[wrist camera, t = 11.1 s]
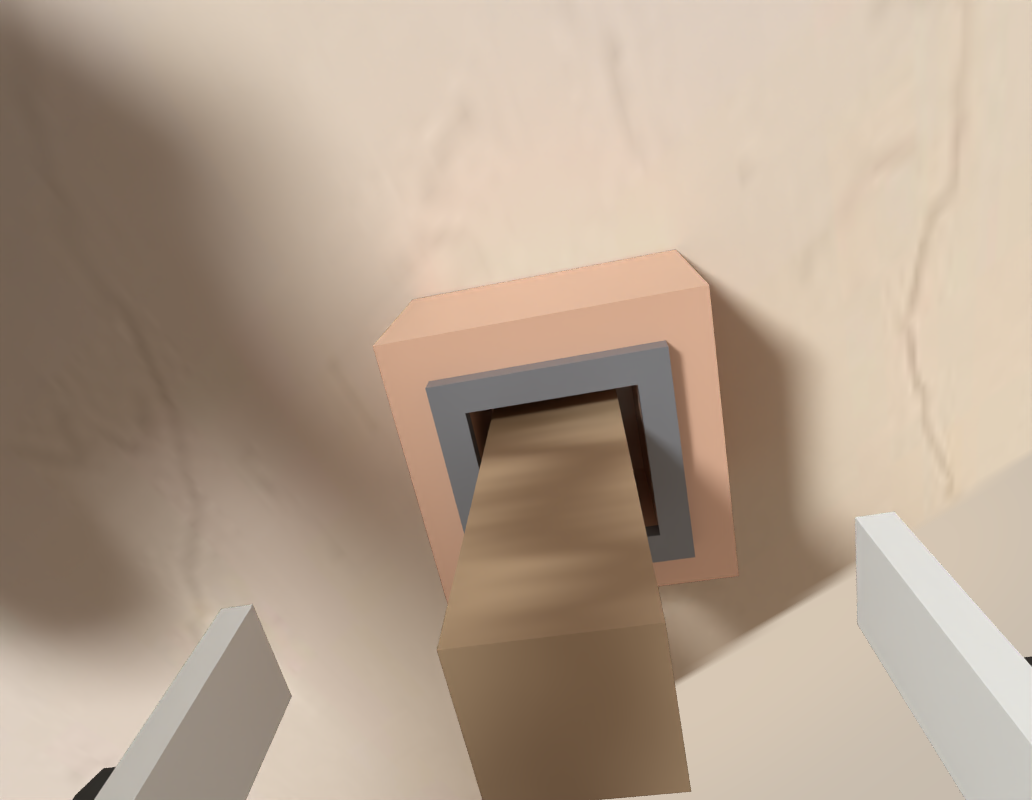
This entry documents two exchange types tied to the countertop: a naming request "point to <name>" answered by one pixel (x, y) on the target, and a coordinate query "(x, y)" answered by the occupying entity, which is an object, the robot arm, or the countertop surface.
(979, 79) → the countertop surface
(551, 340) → the peach square socket block
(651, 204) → the countertop surface
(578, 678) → the tall wooden block
